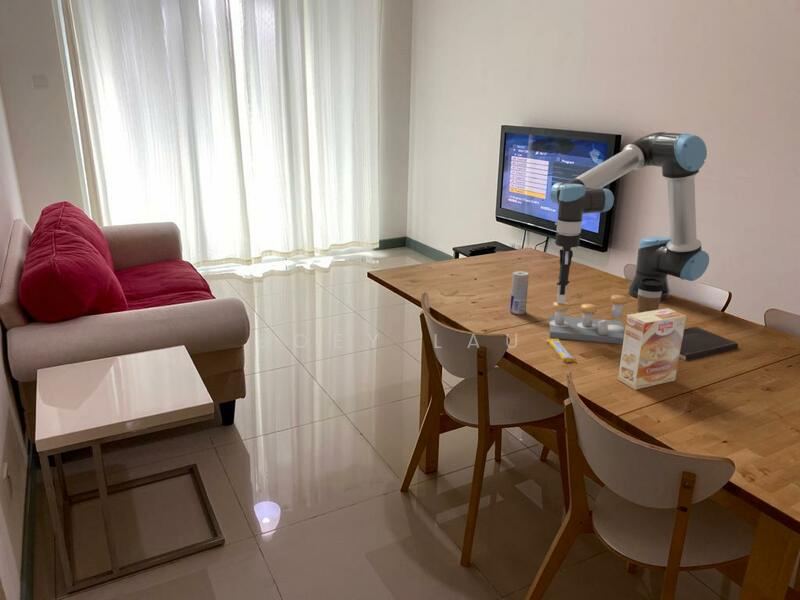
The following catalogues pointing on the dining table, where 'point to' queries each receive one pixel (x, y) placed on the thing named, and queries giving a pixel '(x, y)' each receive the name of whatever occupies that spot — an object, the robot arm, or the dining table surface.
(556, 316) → the knob far
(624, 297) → the knob near
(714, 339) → the hardcover book
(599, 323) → the pot dial
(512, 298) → the beverage can
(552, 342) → the candy bar
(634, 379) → the coffeecake box
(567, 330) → the mount board
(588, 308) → the knob middle
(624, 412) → the dining table surface
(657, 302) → the coffee cup
